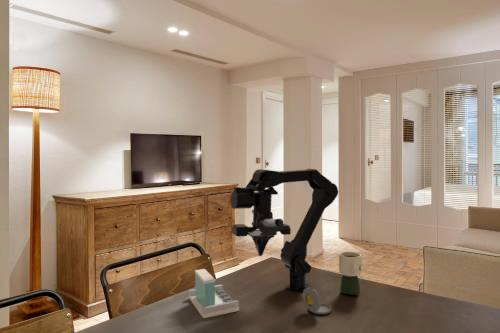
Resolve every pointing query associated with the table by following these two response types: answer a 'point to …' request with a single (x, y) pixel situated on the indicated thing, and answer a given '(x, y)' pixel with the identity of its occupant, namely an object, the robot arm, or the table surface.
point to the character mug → (350, 272)
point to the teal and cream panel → (205, 287)
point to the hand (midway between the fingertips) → (260, 255)
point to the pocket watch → (314, 301)
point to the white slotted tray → (221, 303)
